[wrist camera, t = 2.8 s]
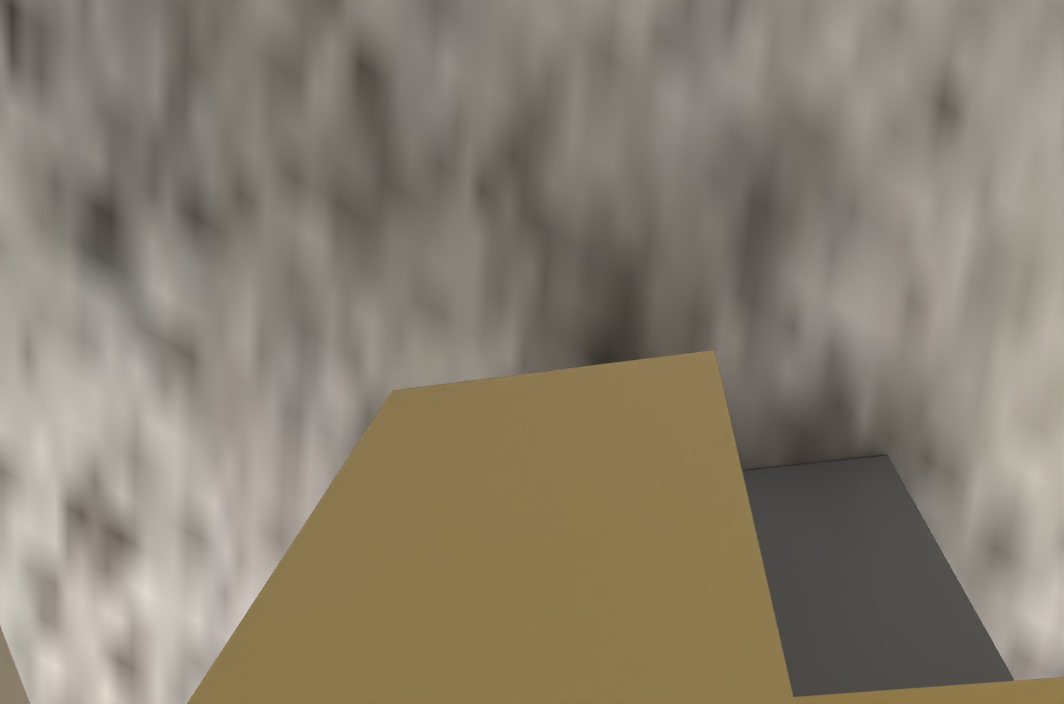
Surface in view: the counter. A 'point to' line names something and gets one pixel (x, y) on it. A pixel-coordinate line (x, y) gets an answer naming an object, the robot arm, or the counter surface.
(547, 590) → the lid
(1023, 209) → the counter surface
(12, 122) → the counter surface
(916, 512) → the tub
